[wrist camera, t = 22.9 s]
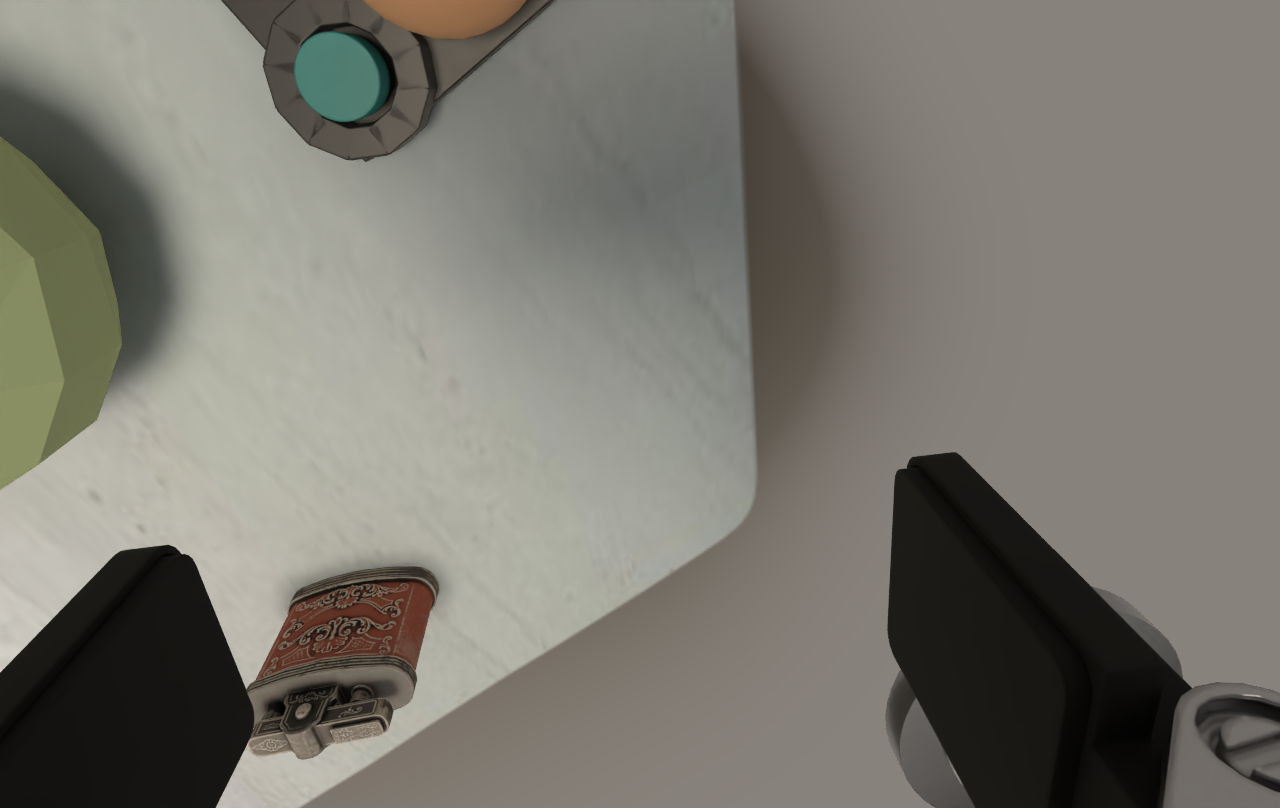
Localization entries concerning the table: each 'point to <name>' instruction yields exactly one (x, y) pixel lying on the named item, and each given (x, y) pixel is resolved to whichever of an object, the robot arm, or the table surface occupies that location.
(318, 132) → the dark grey flat block
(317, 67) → the tare button
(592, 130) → the table surface
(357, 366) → the table surface
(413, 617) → the lighter
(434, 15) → the egg
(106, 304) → the decorative sphere
